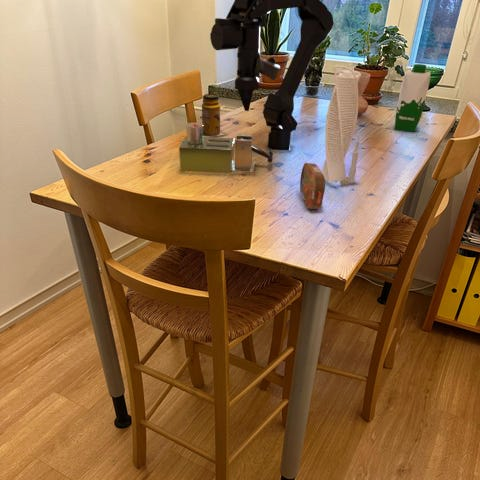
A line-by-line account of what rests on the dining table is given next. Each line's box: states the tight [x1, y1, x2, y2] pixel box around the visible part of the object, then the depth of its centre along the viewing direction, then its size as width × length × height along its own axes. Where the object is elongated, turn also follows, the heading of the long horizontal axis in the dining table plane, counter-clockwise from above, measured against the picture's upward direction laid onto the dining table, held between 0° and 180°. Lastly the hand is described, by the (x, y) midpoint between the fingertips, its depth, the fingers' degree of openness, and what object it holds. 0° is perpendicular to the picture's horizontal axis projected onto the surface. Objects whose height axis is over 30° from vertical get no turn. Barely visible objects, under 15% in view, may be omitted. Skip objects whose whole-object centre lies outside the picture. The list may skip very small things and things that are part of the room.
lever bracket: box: [231, 134, 256, 174], centre depth 128 cm, size 6×8×9 cm
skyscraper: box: [320, 64, 361, 187], centre depth 117 cm, size 8×8×28 cm
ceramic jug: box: [336, 71, 371, 116], centre depth 177 cm, size 18×14×14 cm
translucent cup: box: [185, 122, 203, 144], centre depth 126 cm, size 4×4×5 cm
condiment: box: [201, 93, 226, 137], centre depth 153 cm, size 7×8×12 cm
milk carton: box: [393, 63, 432, 133], centre depth 160 cm, size 9×9×20 cm
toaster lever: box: [241, 137, 274, 164], centre depth 127 cm, size 10×6×2 cm, turn 86°
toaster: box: [178, 135, 236, 175], centre depth 129 cm, size 15×10×7 cm
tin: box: [299, 162, 326, 210], centre depth 112 cm, size 15×3×8 cm, turn 5°
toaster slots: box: [206, 139, 230, 147], centre depth 127 cm, size 6×6×1 cm
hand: (246, 110), depth 132 cm, fingers closed
